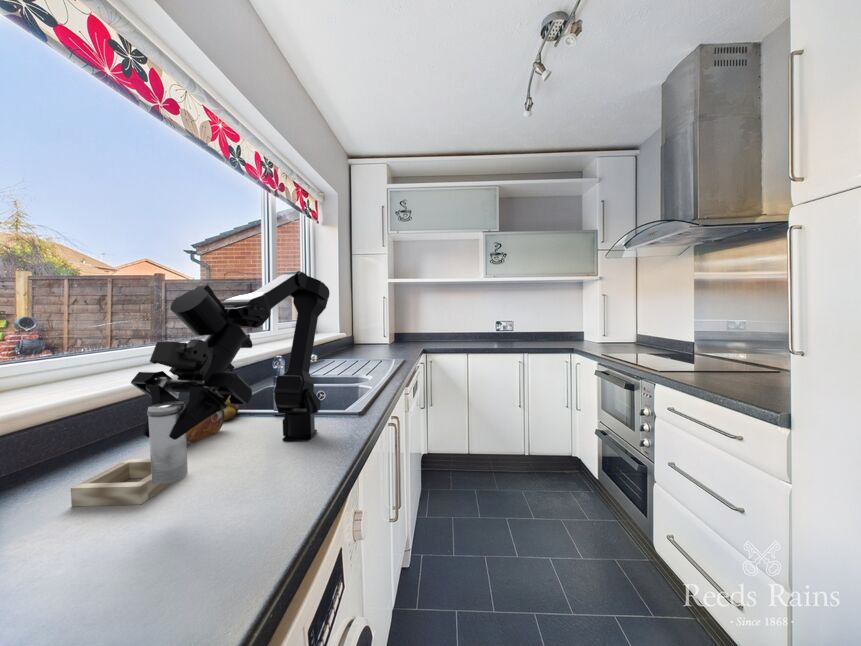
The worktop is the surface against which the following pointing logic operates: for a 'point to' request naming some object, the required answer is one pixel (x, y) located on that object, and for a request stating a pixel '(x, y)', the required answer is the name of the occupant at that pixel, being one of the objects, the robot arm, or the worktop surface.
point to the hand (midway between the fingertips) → (159, 437)
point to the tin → (205, 428)
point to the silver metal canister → (166, 443)
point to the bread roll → (230, 410)
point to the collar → (118, 486)
